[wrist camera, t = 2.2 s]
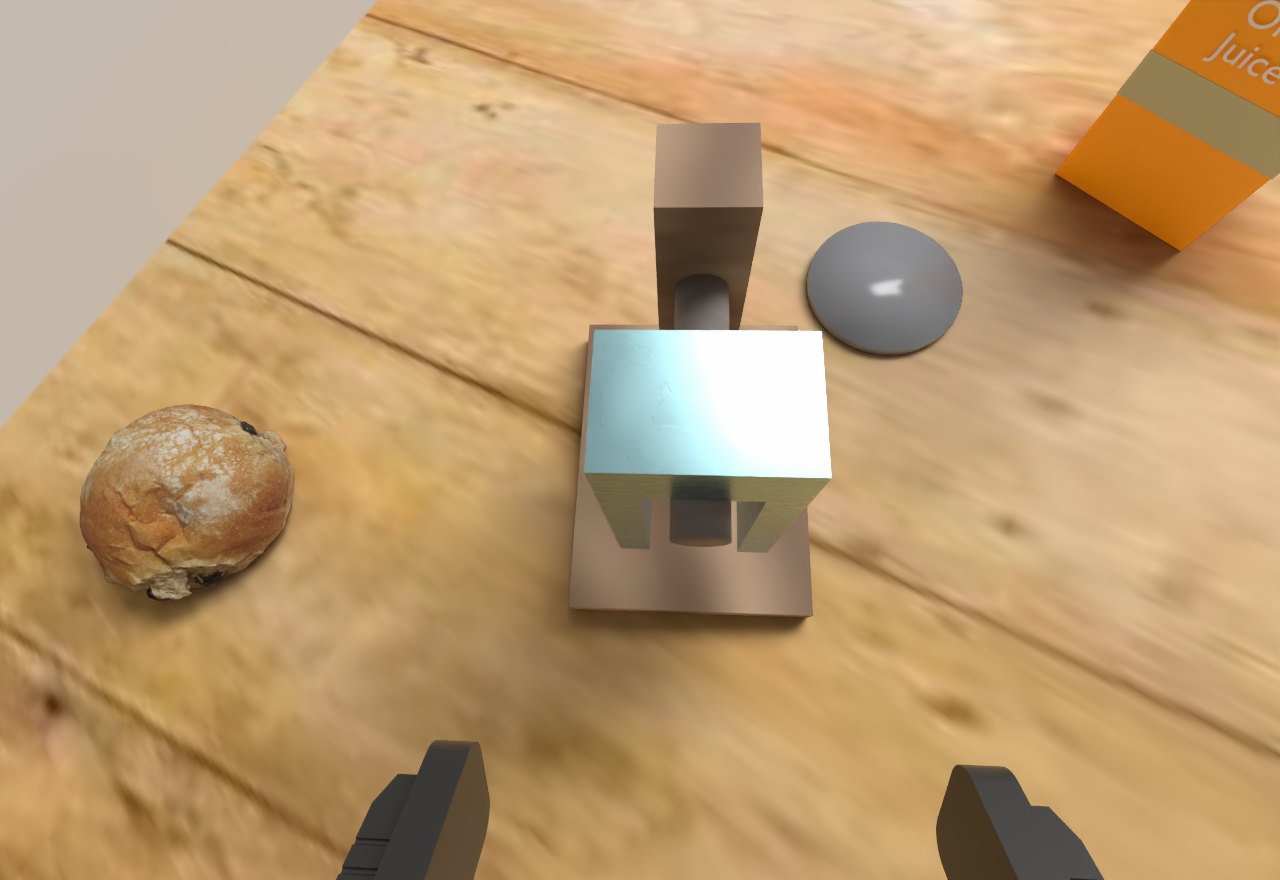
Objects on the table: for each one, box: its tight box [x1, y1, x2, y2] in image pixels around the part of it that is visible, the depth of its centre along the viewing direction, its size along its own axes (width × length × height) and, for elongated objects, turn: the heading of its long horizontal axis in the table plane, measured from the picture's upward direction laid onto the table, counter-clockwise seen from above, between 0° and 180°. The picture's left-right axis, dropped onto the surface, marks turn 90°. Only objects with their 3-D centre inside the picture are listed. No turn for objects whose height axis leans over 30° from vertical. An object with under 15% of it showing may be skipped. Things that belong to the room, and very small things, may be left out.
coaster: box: [807, 222, 963, 355], centre depth 37 cm, size 9×9×1 cm
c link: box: [584, 330, 831, 553], centre depth 21 cm, size 6×4×11 cm, turn 88°
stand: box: [568, 123, 813, 618], centre depth 25 cm, size 12×16×19 cm
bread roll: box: [80, 404, 293, 601], centre depth 33 cm, size 10×10×8 cm
